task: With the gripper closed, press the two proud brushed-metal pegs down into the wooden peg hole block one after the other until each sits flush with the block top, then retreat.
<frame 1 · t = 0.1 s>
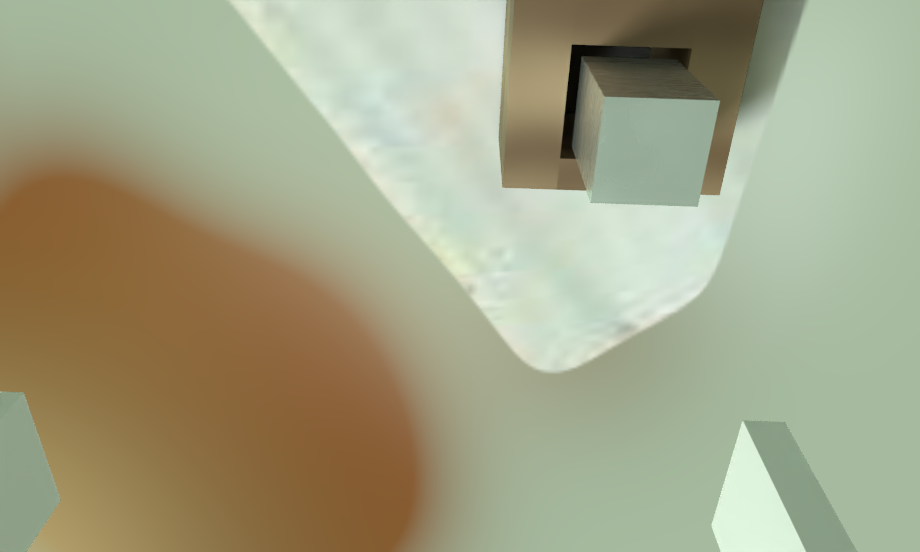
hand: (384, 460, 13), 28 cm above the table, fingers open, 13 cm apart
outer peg: (636, 126, 28), point 10 cm above the table, slide at 0.0 cm
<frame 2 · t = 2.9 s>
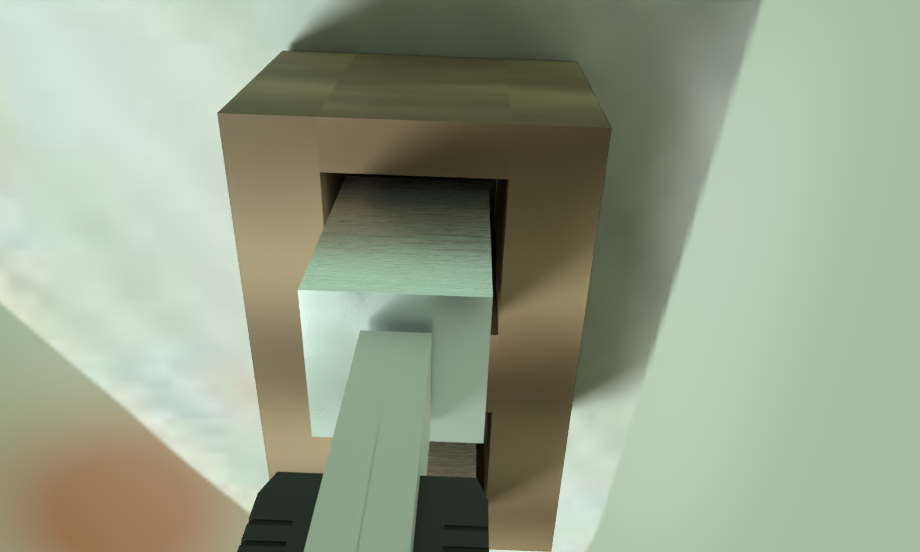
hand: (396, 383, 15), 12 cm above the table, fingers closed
wooden peg hole block: (427, 262, 28), on the table
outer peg: (407, 536, 22), point 10 cm above the table, slide at 0.0 cm
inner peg: (408, 297, 18), point 9 cm above the table, slide at 0.9 cm, touching gripper
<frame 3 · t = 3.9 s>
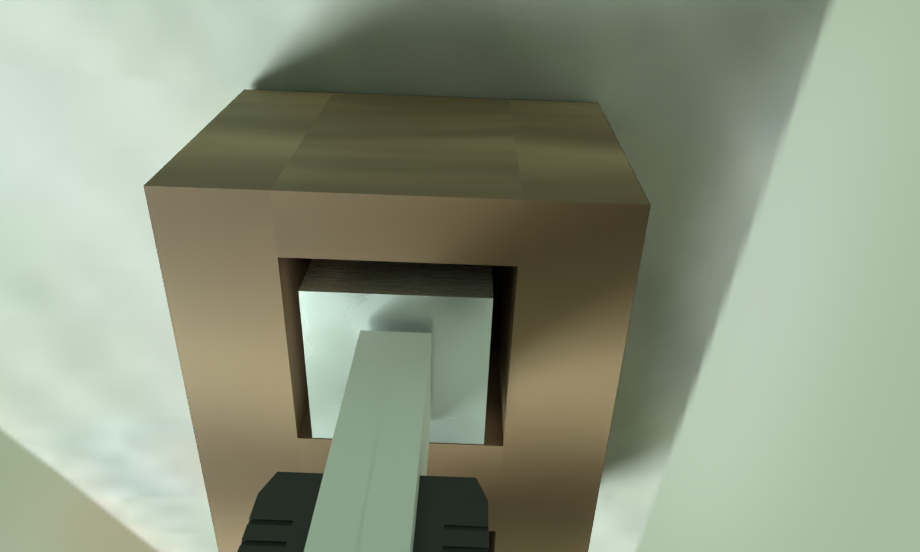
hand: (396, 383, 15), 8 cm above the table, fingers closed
wooden peg hole block: (420, 330, 24), on the table
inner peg: (408, 298, 18), point 4 cm above the table, slide at 5.5 cm, touching gripper
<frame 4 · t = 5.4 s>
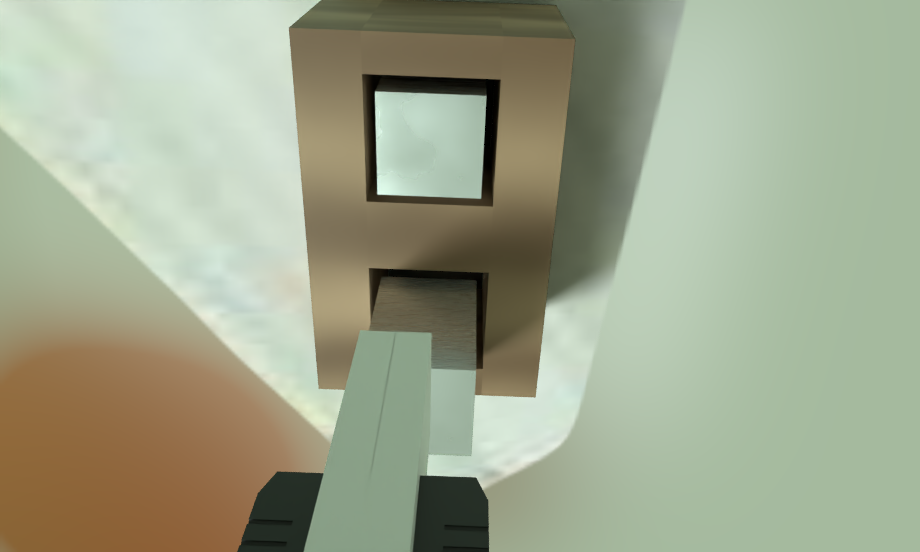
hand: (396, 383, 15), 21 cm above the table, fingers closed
wooden peg hole block: (437, 173, 35), on the table
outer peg: (423, 360, 28), point 10 cm above the table, slide at 0.0 cm
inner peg: (434, 121, 29), point 4 cm above the table, slide at 5.6 cm
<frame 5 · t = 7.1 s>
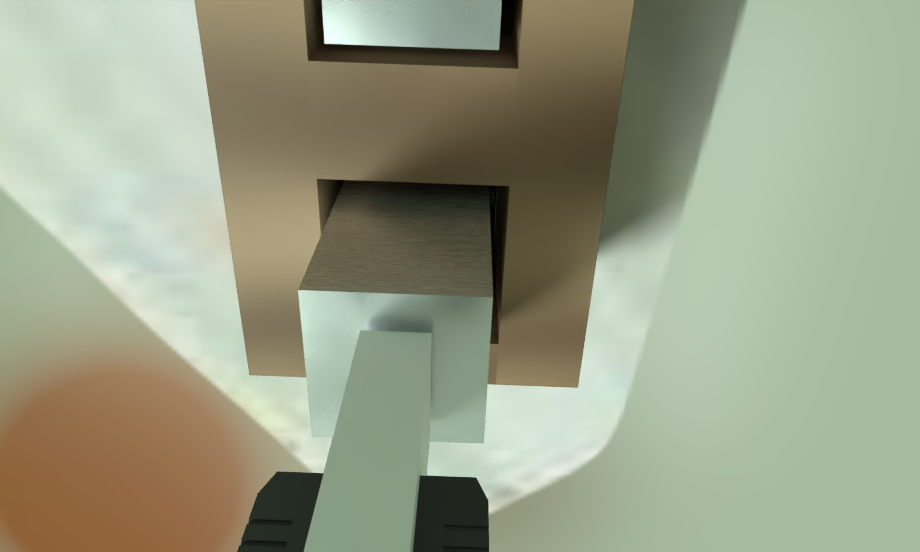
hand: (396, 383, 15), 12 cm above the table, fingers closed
wooden peg hole block: (429, 59, 24), on the table
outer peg: (408, 297, 18), point 9 cm above the table, slide at 1.3 cm, touching gripper
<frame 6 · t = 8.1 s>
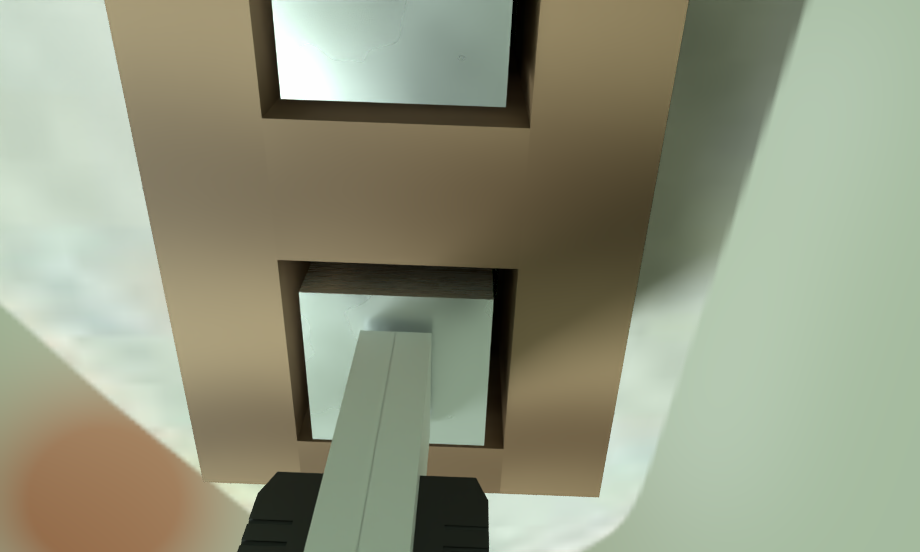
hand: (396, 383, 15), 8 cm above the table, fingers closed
wooden peg hole block: (421, 97, 20), on the table
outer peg: (409, 299, 18), point 4 cm above the table, slide at 5.6 cm, touching gripper
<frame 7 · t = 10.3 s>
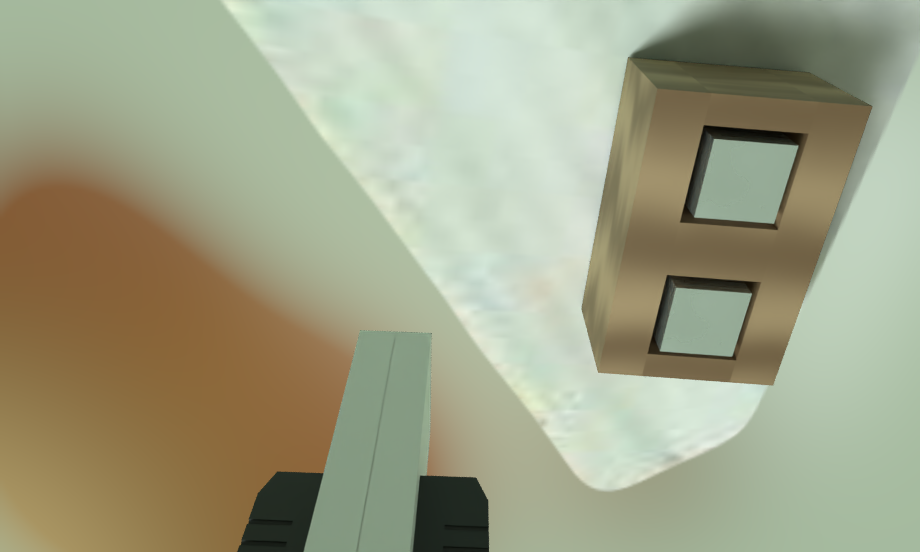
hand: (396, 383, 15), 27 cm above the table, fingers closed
wooden peg hole block: (685, 200, 43), on the table
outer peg: (689, 294, 41), point 4 cm above the table, slide at 5.6 cm
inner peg: (724, 161, 37), point 4 cm above the table, slide at 5.6 cm
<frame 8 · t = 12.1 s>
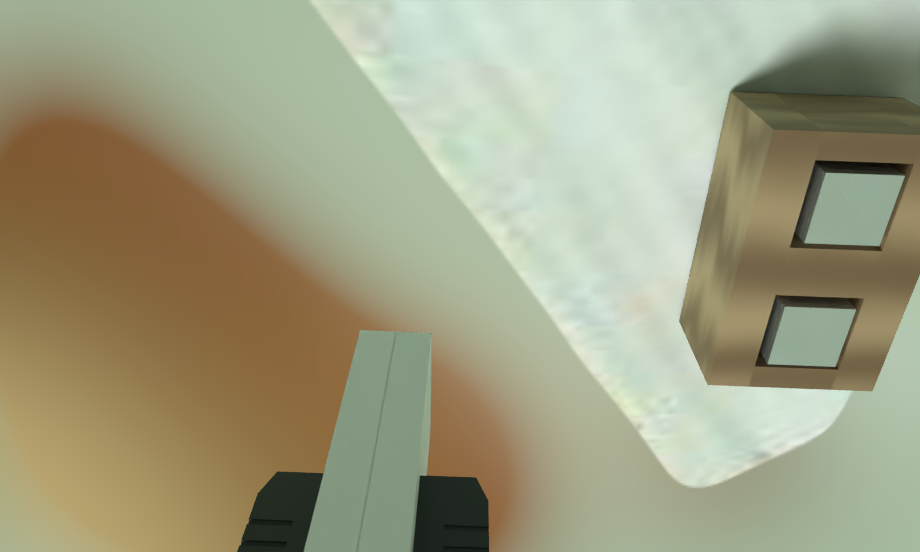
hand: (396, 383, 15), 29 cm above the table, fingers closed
wooden peg hole block: (780, 219, 45), on the table
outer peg: (790, 308, 44), point 4 cm above the table, slide at 5.6 cm
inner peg: (827, 187, 40), point 4 cm above the table, slide at 5.6 cm
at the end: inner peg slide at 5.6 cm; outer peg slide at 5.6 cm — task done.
